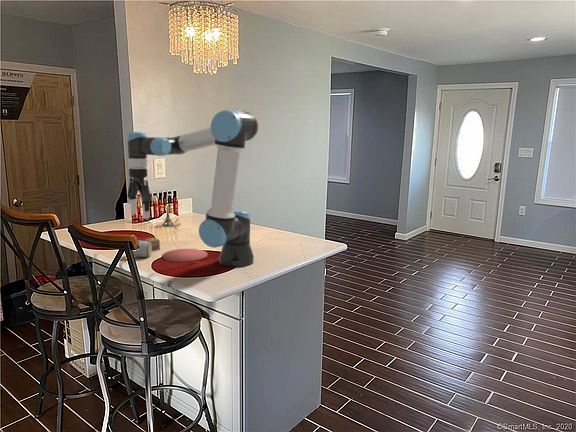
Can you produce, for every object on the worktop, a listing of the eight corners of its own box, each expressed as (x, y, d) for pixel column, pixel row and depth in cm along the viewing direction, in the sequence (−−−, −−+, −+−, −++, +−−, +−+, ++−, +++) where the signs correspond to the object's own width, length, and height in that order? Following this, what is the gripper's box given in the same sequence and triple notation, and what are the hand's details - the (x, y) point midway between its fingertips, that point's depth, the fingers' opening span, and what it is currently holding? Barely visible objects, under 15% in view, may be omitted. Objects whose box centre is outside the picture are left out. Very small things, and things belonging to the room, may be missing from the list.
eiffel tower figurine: (154, 228, 256) (154, 206, 254) (154, 225, 266) (154, 203, 263) (181, 227, 261) (180, 205, 258) (180, 224, 270) (179, 202, 268)
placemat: (215, 256, 199) (215, 255, 199) (175, 264, 186) (175, 263, 186) (193, 247, 214) (193, 246, 214) (154, 254, 201) (154, 253, 201)
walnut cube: (159, 249, 209) (159, 239, 208) (149, 251, 206) (149, 240, 205) (155, 247, 213) (154, 237, 212) (145, 249, 210) (144, 238, 209)
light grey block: (148, 259, 193) (148, 242, 192) (129, 259, 193) (129, 242, 192) (154, 253, 204) (154, 237, 203) (136, 253, 203) (136, 236, 202)
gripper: (158, 170, 184) (160, 219, 188) (134, 165, 202) (136, 210, 206) (141, 170, 179) (143, 221, 183) (118, 166, 197) (120, 212, 201)
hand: (139, 216), depth 194 cm, fingers open, 13 cm apart
